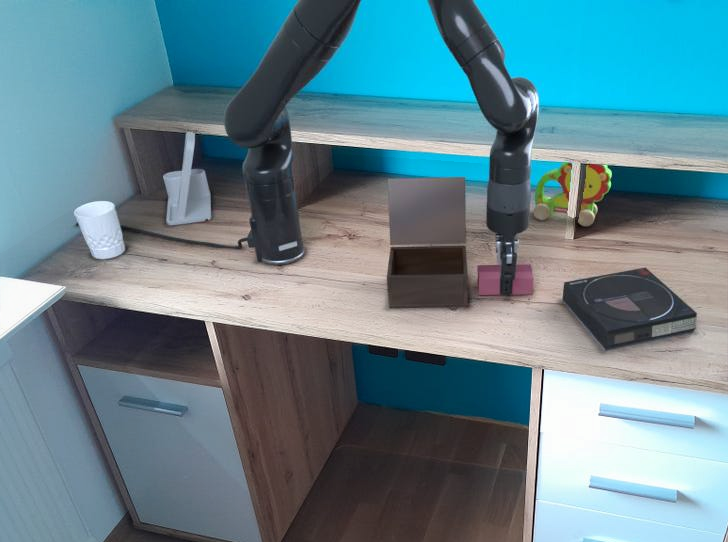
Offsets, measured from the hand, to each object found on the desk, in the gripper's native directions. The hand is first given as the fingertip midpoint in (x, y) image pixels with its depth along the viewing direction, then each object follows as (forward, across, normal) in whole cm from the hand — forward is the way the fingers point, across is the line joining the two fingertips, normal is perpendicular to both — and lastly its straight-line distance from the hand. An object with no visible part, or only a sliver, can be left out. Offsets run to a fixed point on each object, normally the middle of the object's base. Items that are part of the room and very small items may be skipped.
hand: (504, 285), depth 130 cm
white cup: (+2, -19, -83) cm, 85 cm away
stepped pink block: (+1, 0, 0) cm, 1 cm away
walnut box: (+1, 0, -14) cm, 14 cm away
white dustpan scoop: (+2, -41, -72) cm, 83 cm away
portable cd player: (+1, +10, +21) cm, 23 cm away
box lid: (-12, -8, -14) cm, 20 cm away
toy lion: (+1, -30, +17) cm, 34 cm away
